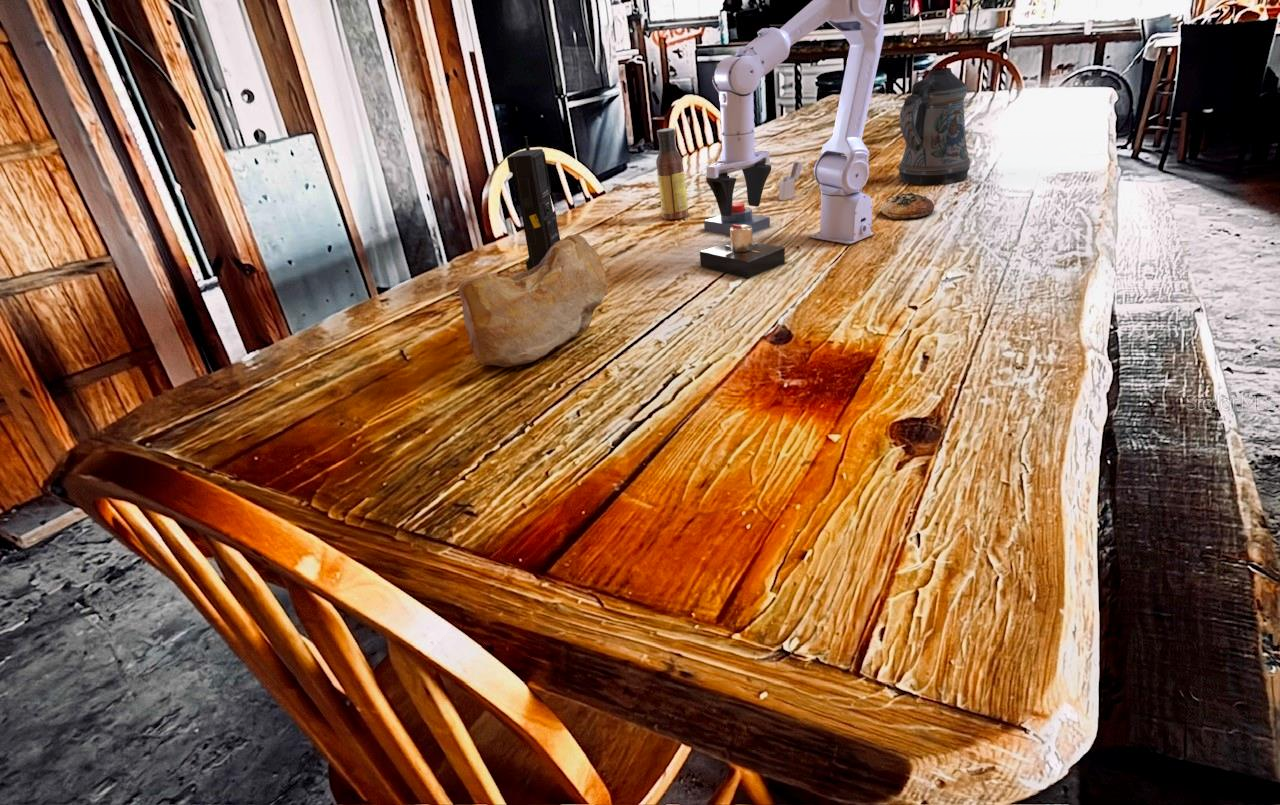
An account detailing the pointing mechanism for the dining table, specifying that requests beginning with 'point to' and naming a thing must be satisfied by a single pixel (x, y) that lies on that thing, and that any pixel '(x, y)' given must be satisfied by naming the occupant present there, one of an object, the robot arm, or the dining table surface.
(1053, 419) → the dining table surface
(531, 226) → the portable radio
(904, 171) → the beer stein
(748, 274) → the dial panel
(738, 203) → the power button
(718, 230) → the button box
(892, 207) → the bread roll
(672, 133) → the sauce bottle
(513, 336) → the rough brown rock
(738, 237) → the dial
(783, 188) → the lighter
